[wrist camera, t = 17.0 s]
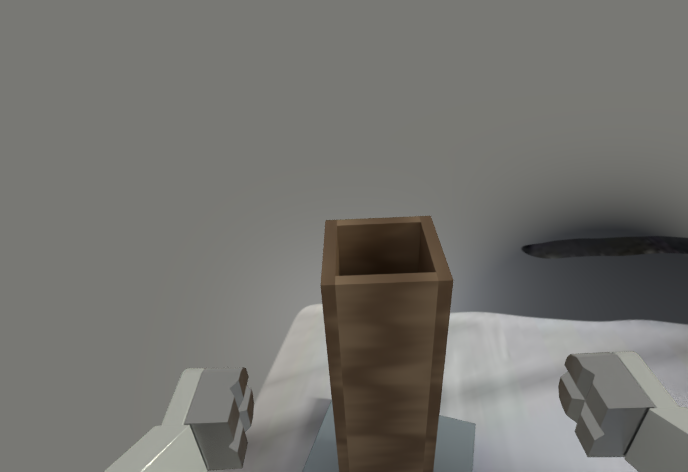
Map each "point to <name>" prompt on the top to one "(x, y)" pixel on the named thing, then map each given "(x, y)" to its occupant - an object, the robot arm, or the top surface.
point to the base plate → (449, 454)
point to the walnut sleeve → (385, 340)
